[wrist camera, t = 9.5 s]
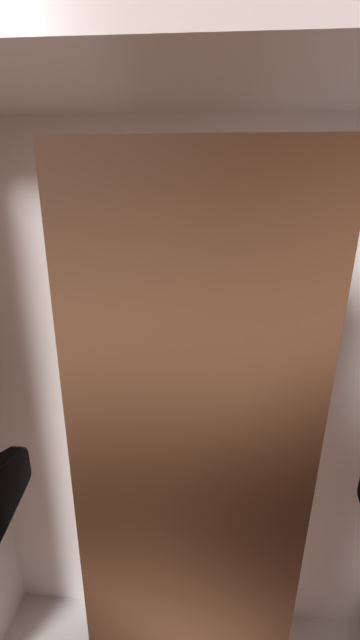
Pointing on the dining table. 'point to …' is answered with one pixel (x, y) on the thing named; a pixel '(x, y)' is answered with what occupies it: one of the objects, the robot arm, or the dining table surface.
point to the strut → (196, 365)
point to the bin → (31, 265)
